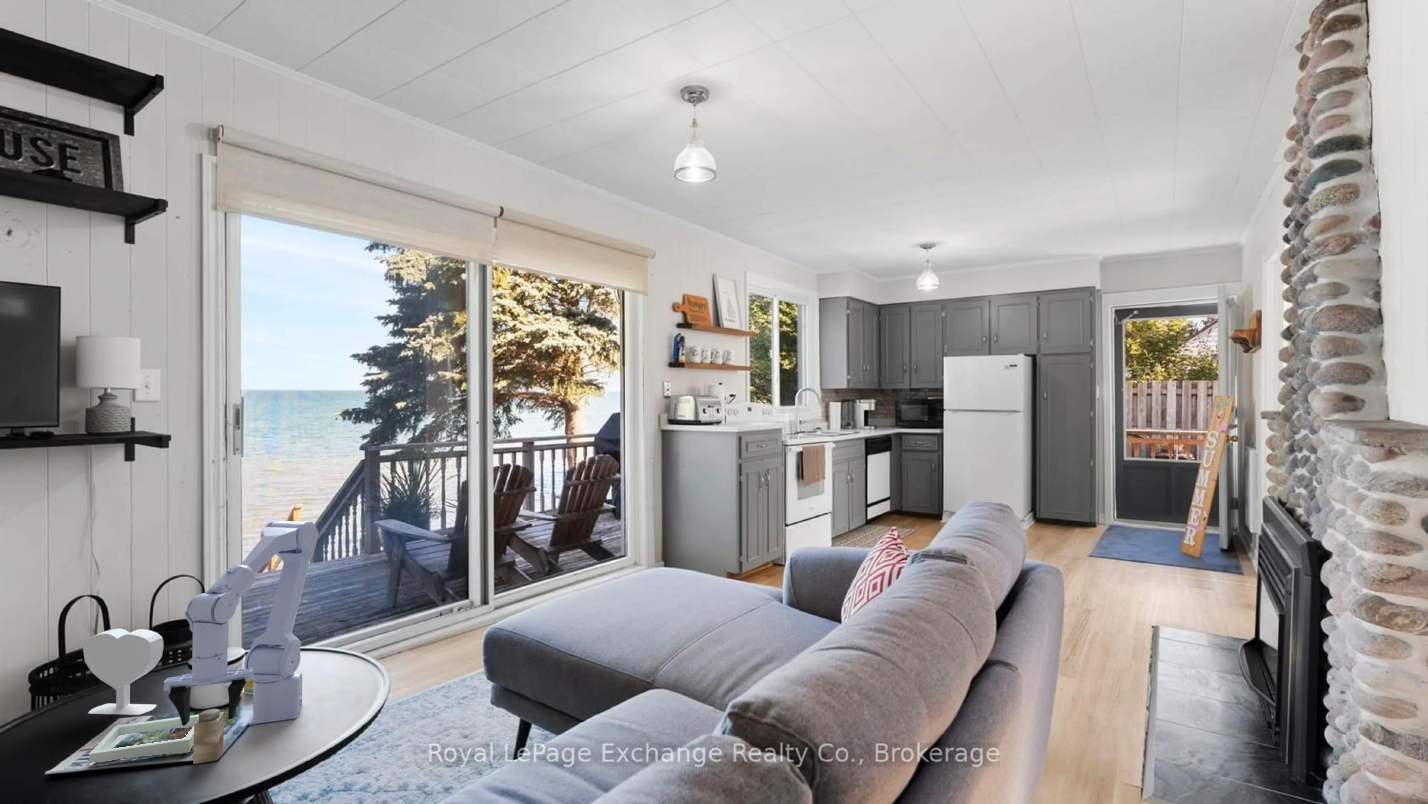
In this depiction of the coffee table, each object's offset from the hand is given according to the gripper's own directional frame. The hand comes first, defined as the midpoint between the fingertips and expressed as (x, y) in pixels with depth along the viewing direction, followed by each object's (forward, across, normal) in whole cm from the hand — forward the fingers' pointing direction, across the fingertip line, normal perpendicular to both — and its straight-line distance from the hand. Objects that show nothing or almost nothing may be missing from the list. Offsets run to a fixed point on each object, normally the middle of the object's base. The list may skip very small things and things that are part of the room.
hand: (208, 719), depth 137 cm
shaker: (+8, 0, 0) cm, 8 cm away
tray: (+8, -12, +9) cm, 17 cm away
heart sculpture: (+8, -24, +31) cm, 40 cm away
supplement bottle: (+8, +2, +32) cm, 33 cm away
